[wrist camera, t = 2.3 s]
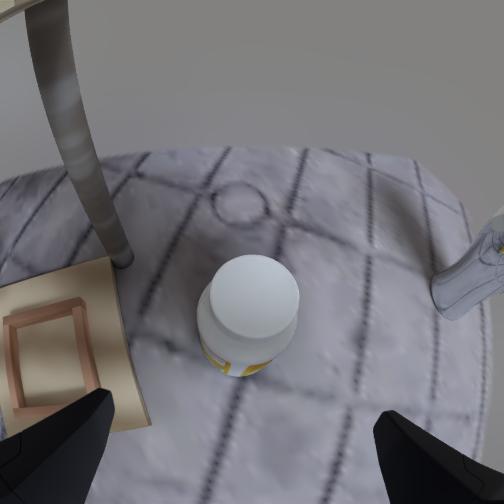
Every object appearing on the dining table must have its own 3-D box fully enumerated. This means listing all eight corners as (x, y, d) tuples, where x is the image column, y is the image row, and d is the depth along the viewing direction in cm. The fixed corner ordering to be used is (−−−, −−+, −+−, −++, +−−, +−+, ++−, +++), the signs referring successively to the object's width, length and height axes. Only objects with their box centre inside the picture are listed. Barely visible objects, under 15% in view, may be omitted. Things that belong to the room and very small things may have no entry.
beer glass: (439, 257, 27) (519, 173, 15) (472, 296, 25) (557, 227, 12) (419, 294, 24) (522, 203, 12) (456, 337, 22) (564, 269, 9)
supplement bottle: (276, 315, 22) (317, 251, 13) (268, 381, 19) (312, 361, 11) (208, 303, 21) (207, 231, 13) (195, 369, 19) (180, 340, 10)
